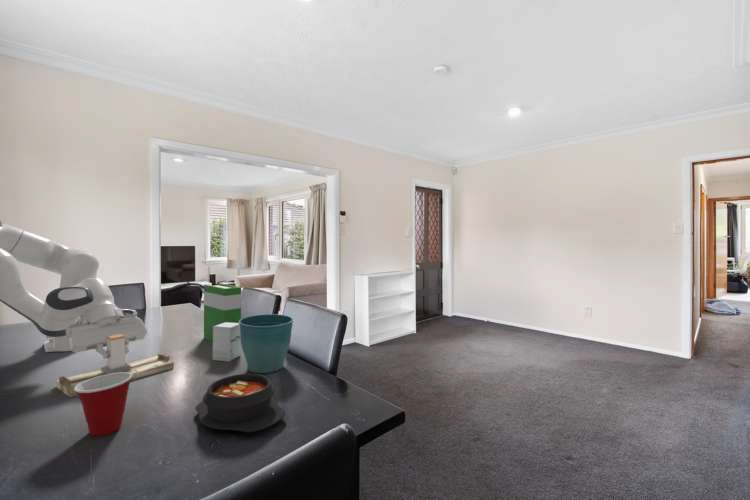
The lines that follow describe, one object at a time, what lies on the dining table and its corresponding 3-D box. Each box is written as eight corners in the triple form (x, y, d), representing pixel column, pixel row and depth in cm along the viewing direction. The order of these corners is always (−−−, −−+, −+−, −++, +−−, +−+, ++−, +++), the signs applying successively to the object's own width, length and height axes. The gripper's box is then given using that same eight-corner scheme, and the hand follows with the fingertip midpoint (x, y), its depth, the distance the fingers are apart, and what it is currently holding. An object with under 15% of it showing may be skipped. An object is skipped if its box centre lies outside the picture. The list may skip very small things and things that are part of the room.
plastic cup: (96, 418, 87) (96, 370, 87) (142, 417, 88) (142, 370, 88) (61, 444, 76) (60, 389, 76) (114, 442, 77) (113, 388, 77)
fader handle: (100, 370, 111) (100, 336, 111) (122, 365, 116) (122, 332, 116) (108, 375, 108) (108, 339, 108) (130, 369, 113) (130, 335, 113)
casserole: (302, 415, 91) (302, 383, 90) (240, 452, 75) (240, 413, 75) (239, 392, 104) (239, 363, 104) (175, 418, 88) (175, 385, 88)
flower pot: (302, 362, 129) (303, 316, 128) (272, 381, 112) (273, 328, 111) (261, 356, 135) (261, 312, 134) (226, 373, 118) (227, 322, 117)
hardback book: (203, 338, 157) (203, 284, 157) (219, 334, 163) (219, 283, 162) (224, 346, 146) (224, 288, 146) (240, 342, 152) (241, 287, 152)
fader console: (56, 386, 105) (55, 374, 105) (156, 360, 128) (156, 351, 128) (70, 397, 98) (69, 384, 98) (173, 368, 121) (173, 357, 121)
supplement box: (230, 361, 128) (230, 327, 128) (211, 360, 130) (212, 326, 129) (241, 355, 135) (241, 322, 135) (224, 353, 137) (224, 321, 137)
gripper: (66, 320, 107) (77, 358, 102) (141, 309, 124) (154, 342, 119) (61, 332, 110) (72, 370, 104) (135, 320, 127) (148, 352, 121)
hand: (116, 355), depth 112 cm, fingers closed on fader handle, 4 cm apart
